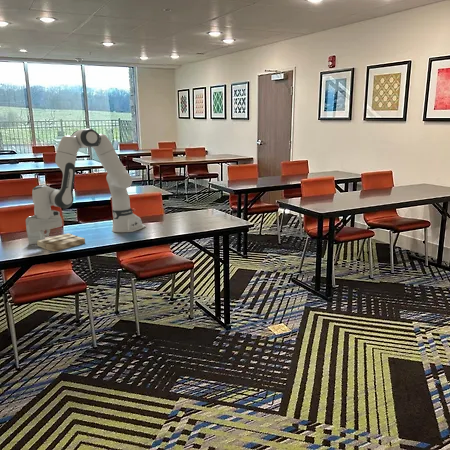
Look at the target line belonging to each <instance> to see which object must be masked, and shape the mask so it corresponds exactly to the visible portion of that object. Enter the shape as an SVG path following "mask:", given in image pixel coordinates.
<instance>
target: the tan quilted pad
mask: <svg viewBox="0 0 450 450" xmlns="http://www.w3.org/2000/svg"><path fill="white" fill-rule="evenodd" d="M74 236H76V235H74V234H73V233H69V232H67V233H64V234H63V233H62V234H60V235H54V236H52V237H51V236H49V237H46V238H45V239H42V240H38V241H37V244H36V245H37V247H39V248H42V249H44V250H47V249H46V245H45V244H46V243H50V242H54V241H58V240H62V239H66V238H70V237H74Z"/></svg>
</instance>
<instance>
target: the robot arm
mask: <svg viewBox="0 0 450 450" xmlns="http://www.w3.org/2000/svg"><path fill="white" fill-rule="evenodd" d="M88 148H92V149H93V150H94V151H95V154H96V156H97V159H99V162H100V163H101V166H102V168H104V169H105V171H106V173H107V174H106V177H105V178H106V179H105V180H106V182H107V185H108V188H109V189H108V190H109V191H110V195H111V202H112V204H111V205H112V210H111V211H112V212H111V213H112V218H113V220H112V230H111V231H112V232H113V233H133V232H136V231H138V230H141V229H144V228H147V225H145V224H144V223H143V222H142V219H141V217H140V216H138V215H137V214H135V213H134V212H136V210H137V209H136V208H132V207H131V201H130V195H129V193H128V191H127V189H128V188H130V187H131V185H132V183H133V177H132V176H131V174H130V173H129V172H128V171H127V169H126V167H125V166H124V164H123V163H122V161H121V160H120V158H119V156H118V154H117V152H116V150H115V148H114V146H113V144H112V142H111V141H110V139H109V138H108V137H107V134H104V133H98V132H97V131H96V130H94V129H93V128H81V129H78V130H75V131H74V132H73V133H72V134H71V135H63V136H62V137H61V139H60V141H59V144H58V145H57V150H56V153H55V158H54V159H55V165H56V166H57V167H58V168H59V169H60V171H61V172H62V180H61V186H60V187H61V188H59V189H58V188H57V189H56V188H53V187H50V186H48V185H46V184H39V185H35V187H33V188H32V193H31V194H32V195H31V196H32V203H33V211H34V215H31V216H28V217H26V219H25V227H26V229H25V230H26V233H27V232H28V233H34V232H39V231H40V232H41V234H42V235H43V238H45V239H46V238H50V232H51V230H52V229H56V228H61V227H62V226H63V219H62V217H61V215H60V214H61V212H60V211H58V210H55V209H52V208H51V207H52V206H54V207H57V208H60V209H69V208H70V207H71V206H72V205H73V203H74V184H75V177H76V161H77V155H78V153H79V152H78V151H79V150H80V149H88ZM45 231H46V233H45Z"/></svg>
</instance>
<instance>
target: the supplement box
mask: <svg viewBox="0 0 450 450" xmlns="http://www.w3.org/2000/svg"><path fill="white" fill-rule="evenodd" d="M26 235H27V240H28V244H29V245H37V241H38V240H42V239H46V238H43V235H42V234H41V232H40V231H39V232H34V233H28V232H27V231H26Z"/></svg>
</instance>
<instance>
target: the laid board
mask: <svg viewBox="0 0 450 450" xmlns="http://www.w3.org/2000/svg"><path fill="white" fill-rule="evenodd" d="M83 244H86V238H85V237H81V236H78V235H75V236H74V237H70V238H66V239H62V240H58V241H54V242H50V243H46V244H45V245H46V249H45V250H47V251H50V252H57V251H61V250H65V249H69V248H72V247H76V246H80V245H83Z"/></svg>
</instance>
